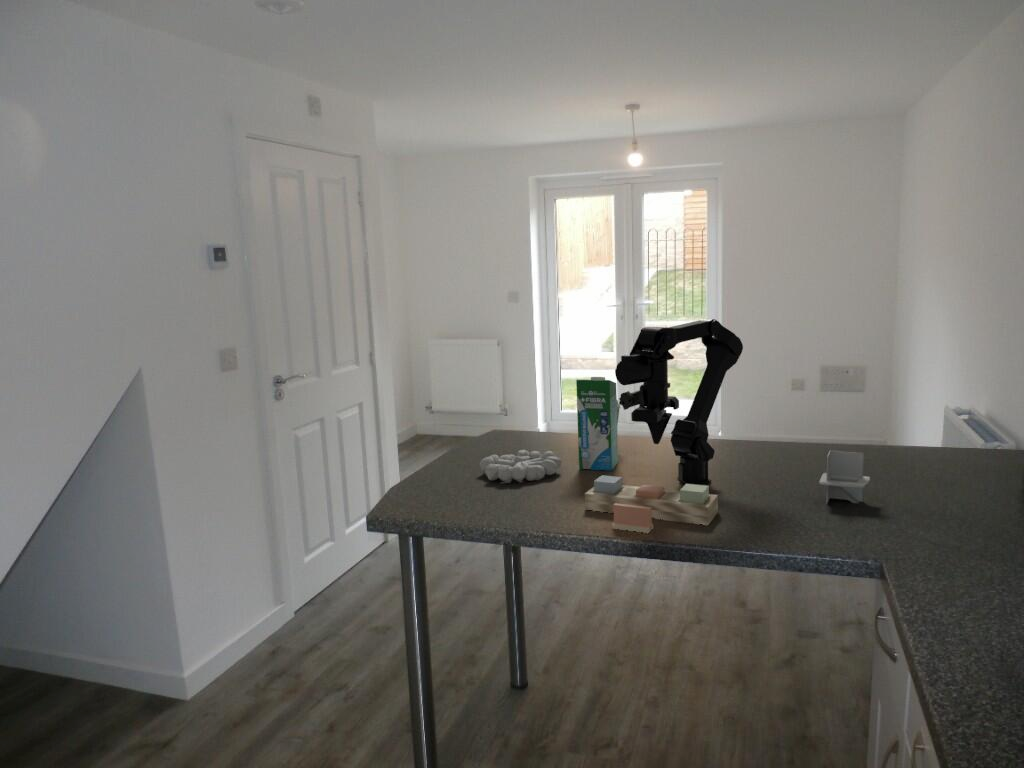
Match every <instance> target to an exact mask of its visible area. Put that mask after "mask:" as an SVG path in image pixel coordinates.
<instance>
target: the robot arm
mask: <svg viewBox="0 0 1024 768" xmlns="http://www.w3.org/2000/svg"><path fill="white" fill-rule="evenodd" d="M696 339H701V343H702V344H703V346H704V347H705V348H706V350H705V359H706V363H707V365H706V367H705V370H704V373H703V375H702V378H701V380H700V383H699V385H698V389H697V390H696V393H695V396H694V398H693V401H692V404H691V406H690V408H689V411H688V414H687V416H685V417H684V418H683V419H680V418H679V419H678V418H677V419H676V421H675V424H674V427H673V429H672V431H671V432H670V434H671V437H670V443H671V445H672V449H673V452H674V455H675V456H676V457H679V462H678V464H677V465H678V466H677V467H678V471H677V472H678V476H677V479H678V480H679V481H681V482H682V483H684V485H685V484H695V485H703V484H710V483H712V480H711V479H709V461H710V460H712V459H714V456H715V449H714V447H712V446H711V445H710V443H709V442H708V439H709V435H710V434H709V430H708V429H709V428H708V426H707V425H708V424H707V422H708V420H709V417H710V415H711V412H712V410H713V408H714V405H715V402H716V400H717V397H718V395H719V392H720V389H721V386H722V385H723V381H724V379H725V376H726V373H727V372H728V371H729V370H730V369H731V368H733V366H734V365H736V364H737V362H738V360H739V359H740V357H741V355H742V353H743V349H744V345H743V343H742V340H741V338H740V337H739V336H737V335H736V333H734V332H732V331H731V330H730V329H728V328H727V327H726V326H723V325H722V324H721V323H720V321H718V320H717V319H715V318H714V319H712V318H701V319H699V320H694V321H691V322H685V323H682V324H678V325H677V324H676V325H673V326H669V327H668V326H665V327H664V326H663V327H662V326H645V327H642V328H641V329H640V332H639V334H638V336H637V338H636V339H635V342H634V344H633V346H632V348H631V350H630V352H629V355H628V354H627V355H626V354H623V355H621V356H620V358H621V360H620V361H619V362H618V363H617V365H616V367H615V370H614V374H615V377H616V381H617V382H618V383H619V384H620V385H622V386H629V385H635V384H641V383H642V384H641V385H640V386H639V390H636V391H633V392H630V391H629V390H628V391H625V392H622V393H621V394H620V397H619V398H618V403H619V404H620V406H622V408H623V410H624V411H626V410H629V408H632V407H635V406H637V405H638V407H637V408H634V409H633V411H631V413H630V414H631V416H630V417H631V422H637V423H638V422H639V423H645V424H647V427H648V429H649V433H650V435H651V438H652V442H653V444H654V445H659V444H660V443H661V440H662V438H663V436H664V433H665V430H666V428H667V426H668V423H669V422H670V419H671V417H672V416H673V413H672V412H667V410H666V408H672V409H673V410H675V411H676V410H677V409H679V408H680V400H679V398H677V397H676V396H669V388H671V382H669V377H668V376H669V375H668V372H669V371H668V367H669V366H668V362H669V361H670V360H674V359H675V356H674V355H673V354H672V353H670V350H672V349H675V347H676V345H679V344H680V343H684V342H688V341H691V340H696Z"/></svg>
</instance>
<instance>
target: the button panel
mask: <svg viewBox="0 0 1024 768" xmlns="http://www.w3.org/2000/svg"><path fill="white" fill-rule="evenodd" d="M639 487H640V486H635V485H627V484H622V490H621V491H620V492H618V493H617V494H616V495H615V494H606V493H597V492H594V486H593V487H592V488H590V489H588V490H587V491H586V492H584V510H585V509H586V510H585V511H587V510H594V511H593V512H595V511H601V512H600V513H603V512H608V513H607V514H611V513H614V511H613V505H614V504H615V503H618V504H627V505H636V506H644V507H652V518H655V519H654V520H660V519H661V520H662V519H663V520H662V521H668V522H676V523H677V522H678V523H686V524H692V523H693V525H700V524H702V525H703V526H709V525H710V524H711V522H712V521H713V519H714V518H715V517H716V515H717V514H718V513H719V494H713V493H711V494H710V493H709V499H708V501H707V502H706V503H705V504H696V503H687V502H680V490H676V489H675V490H673V489H667V488H664V495H663V496H662V497H661V498H660V499H651V498H642V497H636V490H637V489H638V488H639Z"/></svg>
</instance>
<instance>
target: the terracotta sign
mask: <svg viewBox="0 0 1024 768" xmlns="http://www.w3.org/2000/svg"><path fill="white" fill-rule="evenodd" d="M613 511H614V514H613V523H612V524H611V525H612V530H618V529H619V530H621V531H626V530H628V531H627V532H633V531H636V532H635V533H641V532H643V534H648V533H649V532H650V531H651V530H652V529H653V530H654V524H653V519H652V507H644V506H636V505H627V504H618V503H615V504H614V505H613ZM653 530H652V531H653ZM652 531H651V532H652ZM651 532H650V533H651ZM650 533H649V534H650Z"/></svg>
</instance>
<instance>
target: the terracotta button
mask: <svg viewBox="0 0 1024 768" xmlns="http://www.w3.org/2000/svg"><path fill="white" fill-rule="evenodd" d="M638 487H639V488H638V489H637V490H636V497H642V498H651V499H660V498H661V497H662V496H663V495H664V489H665V486H663V485H662V486H661V485H651V484H641V485H640V486H638Z"/></svg>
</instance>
